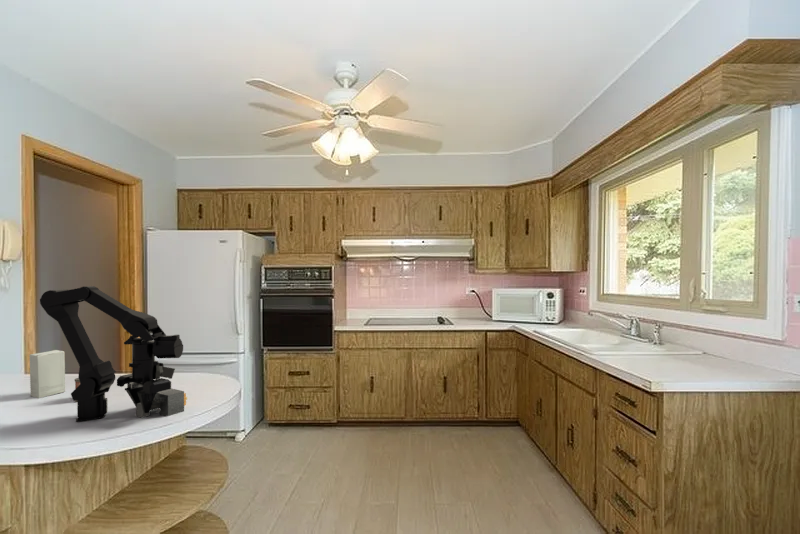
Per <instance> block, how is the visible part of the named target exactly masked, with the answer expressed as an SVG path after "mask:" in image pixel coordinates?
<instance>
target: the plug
mask: <svg viewBox="0 0 800 534" xmlns="http://www.w3.org/2000/svg"><path fill="white" fill-rule="evenodd" d="M187 400H188V396H187V393H185V392H184V406H187ZM159 407H160V403H156V404H152V405H151V408H150V410H151V411H153V410H152V409H154V410H156V408H158V409H160V408H159ZM136 416H137V417H139V418H142V417H143V418H145V417H149V416H150V412H149V413H144V410H143V408H142V405H141V403H137V408H136Z"/></svg>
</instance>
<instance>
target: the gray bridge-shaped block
mask: <svg viewBox="0 0 800 534" xmlns="http://www.w3.org/2000/svg"><path fill="white" fill-rule="evenodd" d="M184 393H185V391H184V390H180V389H177V388H172V387H171V389H168V390H164V391H160V392H158V393H157V394H156V395H155V397H154V400H153V402H152V404H156V403H160V407H159V408H158V409H159V414H160V415H163V416H167V417H170V416H173V415H176V414H179V413H182V412H185V405H184ZM156 409H157V408H156ZM156 409H155V410H156ZM158 409H157V410H158ZM151 411H153V409H152V410H151Z"/></svg>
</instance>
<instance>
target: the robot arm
mask: <svg viewBox="0 0 800 534" xmlns="http://www.w3.org/2000/svg"><path fill="white" fill-rule="evenodd" d="M84 302H86V303H88V304H89V305H91V306H93V307H94V308H96V309H98V310H99V311H101V312H103V313H105V314H106V315H107V316H110V317H111V318H112V319H114V320H116V321H118V322H119V323H120V325H121V327H122V328H123V329H124V330H125V331H126V332H127V333H128V334H130V336H129V337H128V338H127V339H126V340H125V341H124V342H123V345H131V363H128V367H129V368H131V373H128V374H123V375H119V377H118V378H117V379H116V374H115V373H117V371H116V370H115V369H114V368H113V365H112V362H111V361H110V360H106V361H103V360H102V359H100V357H99V356H98V353H97V352H96V350H95V347H94V346H93V343H92V342H91V340H90V337H89V335H88V333H87V331H86V329H85V327H84V325H83V324H82V323H83V322H82V321H81V319H80V317H79V309H80V304H79V303H84ZM39 304H40V306H41V308H42V309H43V310H44V311H45V313H46V314H47V315H48V316H49V317H50V318H51V319H53V320H55V321H56V322H57V323H58V325H59V327H60V329H61V331H62V333H63V335H64V337H65V340H66V341H67V344H68V346H69V347H70V349H71V352H72V353H73V356H74V358H75V359H76V361H77V363H78V366H79V369H78V377H77V378H79V381H80V385H79V386H78V387H77V388H76V389H75V388H74V390H73V391H72V392H71V393H70V396H71V397H72V400H73V401H75V400H77V402H76V403H77V405H76V406H77V408H76V409H77V410H76V411H77V412H76V413H77V414H76V415H77V418H76V420H75V422H77V423H78V422H85V421H92V420H97V419H98V420H99V419H103V418H105V416H106V415H107V414H108V397H106V393H108V392H109V391H110V389H111V386H112V385H113V384H114V383H115V381H116V387H121V388H122V387H125V385H127V387H125V388H124V391H125V392H126V393H127V394H128V396H129V398H130V399H131V402H132V403H133V404H134V406H135V408H136V409H137V403H141V405H142V408H143V410H144V413H149V414H150V408H151V405H152V402H153V400H154V397H155V395H156V394H157V393H158V392H160V391H164V390H168V389H171V388H172V381H171V379H173V376H174V374H175V370H176V368H175V367H167V366H164V363H162V362H159V361H158V360H155V359H156V358H157V359H179V358H180V357H182V355H183V352H184V344H183V341H182V339H181V338H180V334H172V335H166V333H165V332H164V330H163V329H162V327H160V325H159V323H158V319H157V318H156V317H154V316H153V315H150V314H147V313H146V312H143V311H137V310H134V309H132V308H130V307H128V306H127V305H125V304H123V303H122V302H120V301H119V300H117V299H115V298H114V297H112V296H110V295H108V294H107V293H105V292H104V291H101V290H100V289H99V288H98V287H96V286H94V285H88V286H87V285H86V286H80V287H78V288H73V289H53V290H51V289H50V290H46V291H45V292H43V293H42V295H41V297H40V298H39Z"/></svg>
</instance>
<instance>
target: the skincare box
mask: <svg viewBox="0 0 800 534" xmlns="http://www.w3.org/2000/svg"><path fill="white" fill-rule="evenodd" d="M65 355H66V354H65V351H63V350H58V349H53V350H49V351H43V352H36V353H31V354H29V382H30V383H29V384H30V385H29V386H30V387H29V388H30V396H31V397H33V398H37V399H42V398H46V397H49V396H53V395H56V394H57V395H58V394H62V393H65V392H66V369H65V368H66V361H65V360H66V359H65Z"/></svg>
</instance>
